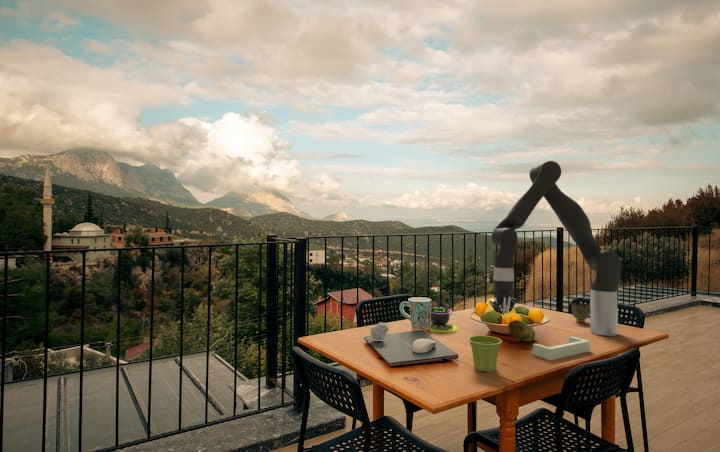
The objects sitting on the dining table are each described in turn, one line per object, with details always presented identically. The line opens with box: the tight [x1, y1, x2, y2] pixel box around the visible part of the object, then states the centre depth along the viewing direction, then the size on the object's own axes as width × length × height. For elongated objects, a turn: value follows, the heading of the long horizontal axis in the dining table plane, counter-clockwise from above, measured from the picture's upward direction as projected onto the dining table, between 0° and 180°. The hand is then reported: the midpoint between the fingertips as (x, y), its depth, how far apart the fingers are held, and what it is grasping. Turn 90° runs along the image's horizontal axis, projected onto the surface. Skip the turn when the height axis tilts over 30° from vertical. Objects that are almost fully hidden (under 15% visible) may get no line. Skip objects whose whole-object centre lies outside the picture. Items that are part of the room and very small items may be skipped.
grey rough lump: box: [369, 321, 389, 340], centre depth 149 cm, size 6×7×7 cm
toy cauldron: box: [429, 300, 458, 333], centre depth 170 cm, size 15×15×11 cm
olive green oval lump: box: [507, 319, 536, 343], centre depth 150 cm, size 8×13×8 cm, turn 110°
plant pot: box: [468, 335, 503, 373], centre depth 121 cm, size 9×9×9 cm
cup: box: [570, 302, 590, 324], centre depth 181 cm, size 8×7×8 cm
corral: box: [532, 336, 591, 361], centre depth 136 cm, size 20×6×4 cm, turn 118°
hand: (502, 323), depth 158 cm, fingers closed
